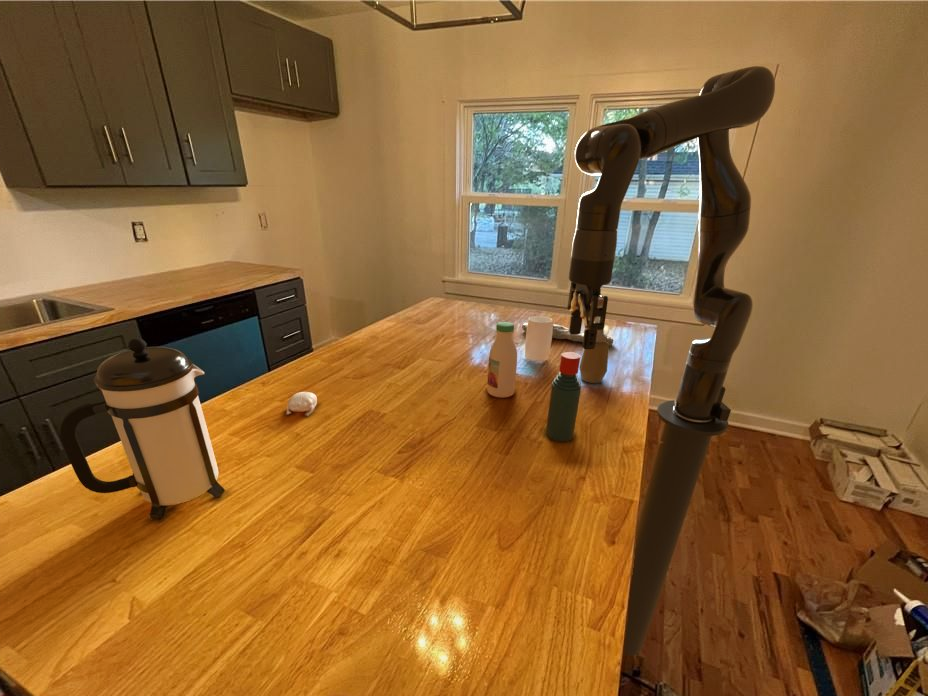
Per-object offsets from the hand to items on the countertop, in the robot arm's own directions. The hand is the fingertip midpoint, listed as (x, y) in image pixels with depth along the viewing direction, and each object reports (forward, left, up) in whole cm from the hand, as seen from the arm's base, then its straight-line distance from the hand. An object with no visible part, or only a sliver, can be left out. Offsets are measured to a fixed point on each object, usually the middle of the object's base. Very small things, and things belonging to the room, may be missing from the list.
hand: (580, 340), depth 83 cm
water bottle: (0, -7, -26) cm, 27 cm away
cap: (0, -7, -10) cm, 12 cm away
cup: (0, -53, -26) cm, 59 cm away
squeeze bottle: (-15, -39, -26) cm, 49 cm away
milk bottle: (+13, -28, -26) cm, 40 cm away
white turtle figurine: (+64, -14, -26) cm, 70 cm away
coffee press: (+74, +20, -26) cm, 81 cm away
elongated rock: (-14, -77, -26) cm, 82 cm away
